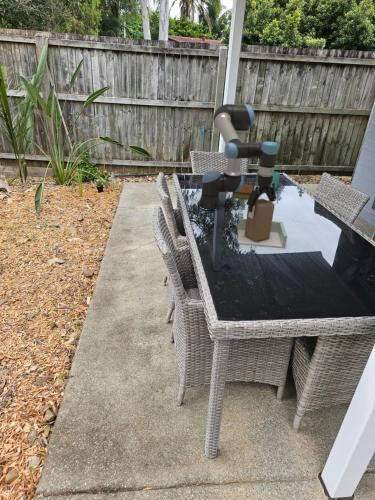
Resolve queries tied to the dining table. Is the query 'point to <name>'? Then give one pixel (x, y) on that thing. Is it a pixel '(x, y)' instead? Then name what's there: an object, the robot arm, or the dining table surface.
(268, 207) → the wooden block
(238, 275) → the dining table surface
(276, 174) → the basket
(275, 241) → the corner tray
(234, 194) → the diary
